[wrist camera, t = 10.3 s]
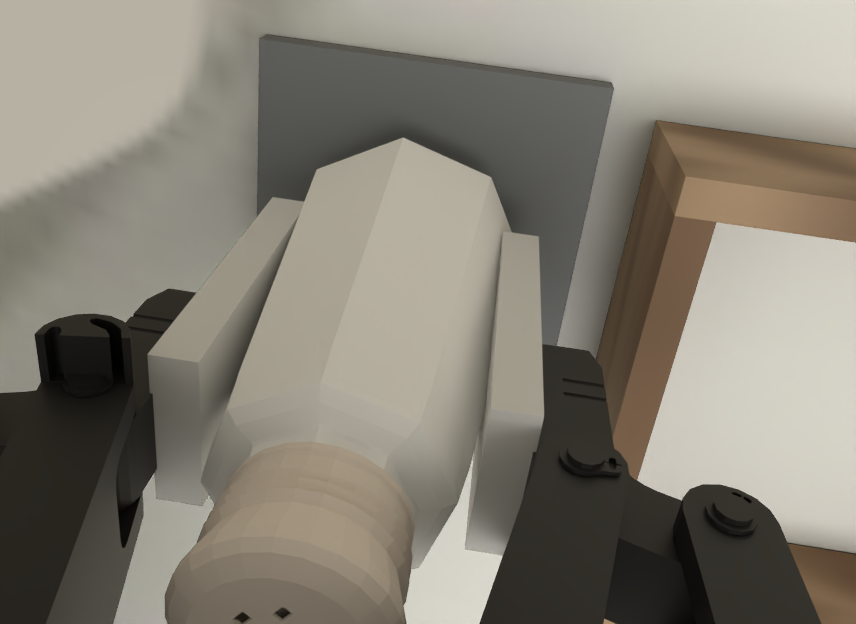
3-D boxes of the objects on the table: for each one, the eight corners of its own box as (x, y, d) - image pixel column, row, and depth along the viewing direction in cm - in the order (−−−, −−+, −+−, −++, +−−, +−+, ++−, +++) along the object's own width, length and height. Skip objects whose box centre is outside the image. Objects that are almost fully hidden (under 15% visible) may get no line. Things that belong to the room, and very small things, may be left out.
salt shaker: (571, 260, 18) (626, 680, 9) (404, 389, 21) (299, 842, 11) (404, 82, 17) (246, 353, 7) (242, 242, 19) (-46, 615, 9)
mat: (262, 330, 23) (255, 341, 22) (267, 34, 19) (259, 38, 18) (546, 375, 22) (547, 387, 22) (611, 82, 18) (613, 88, 18)
